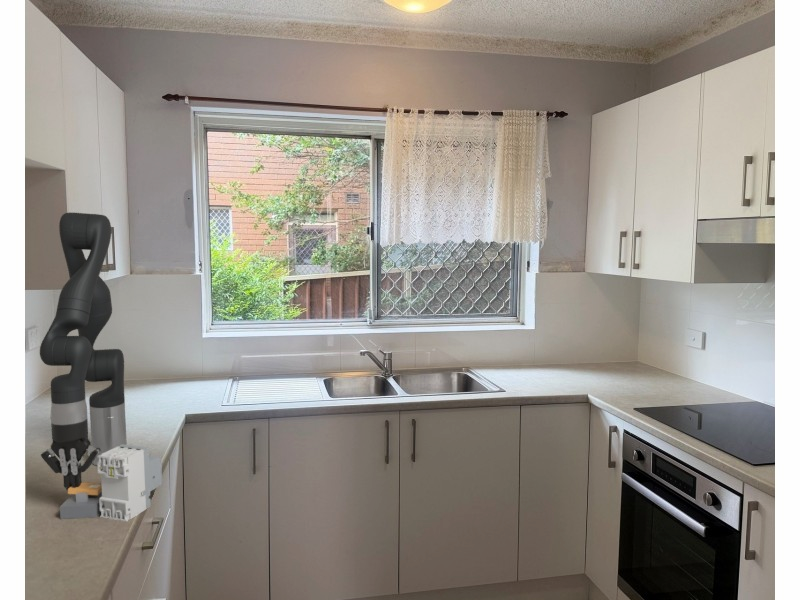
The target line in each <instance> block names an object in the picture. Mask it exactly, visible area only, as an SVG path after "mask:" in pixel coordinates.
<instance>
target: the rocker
mask: <svg viewBox="0 0 800 600" xmlns="http://www.w3.org/2000/svg"><path fill="white" fill-rule="evenodd" d="M101 491H102V484H101V482H82V483H81V485H80V486H79V487H76V488H72V486H71V487H70V488H69V489H68V490H67V495H72V494H77V493H87V492H88V495H99V494H100V492H101Z"/></svg>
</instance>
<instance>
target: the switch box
mask: <svg viewBox="0 0 800 600" xmlns="http://www.w3.org/2000/svg"><path fill="white" fill-rule="evenodd" d="M100 497H102V491H101V492H100V494H99V495H88V492H87V493H77V494H70V496H69V497H68V498H67V499H65V501H64V502H63V503H62V504H61V505H60V506H59V517H60V520H66V519H67V520H68V519H69V520H70V519H87V518H97V517H98V516H100V515H101V511H100V505H99V498H100ZM103 507H104V505H102V508H103Z"/></svg>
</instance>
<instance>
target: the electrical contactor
mask: <svg viewBox="0 0 800 600" xmlns="http://www.w3.org/2000/svg"><path fill="white" fill-rule="evenodd" d="M149 450H150V449H149V447H147V446H139V445H132V444H127V445H125V444H122V445H120V446H117V447H115V448H113V449H111V450H109V451H107V452H105V453H102V454H101V455H98V457H99V462H98V463H97V465H96V466H97V474H100V481H101V482H100V483H101V484H102V497H100V498H99V505H100V511H101V513H100V515H99V518H101V517H103V518H102V519H107V518H109V519H108V520H113V519H114V520H115V521H119V520H121V521H120V522H125V521H126V523H127V522H128V521H129V520H131V519H133V518H135V517H136V516H138V515H139V514H141V513H143V512H144V511H145V510H147V509H148V508H149V509H150V507H151V506H152V505H151V504H152V503H151V501H152V499H151V498H150V497H151V492H152V491H154V490H155V489H156V488H159V487H161V486H162V485H163V472H162V471H163V470H162V469H163V468H162V467H163V463H162V455H157V454H152V453H150V452H149ZM102 505H104V507H103V508H102ZM108 516H109V517H108ZM114 520H113V521H114Z"/></svg>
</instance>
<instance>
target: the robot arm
mask: <svg viewBox="0 0 800 600" xmlns="http://www.w3.org/2000/svg"><path fill="white" fill-rule="evenodd" d="M58 228H59V230H58V231H59V238H60V243H61V248H62V250H63V255H64V259H65V261H66V267H67V271H68V277H69V279H68V280H67V281H66V283H65V284H64V285H63V287H62V288H61V290H60V293H59V296H58V301H57V306H56V312H55V316H54V318H53V321H52V322H51V325H50V326H49V328H48V330H47V331H46V333H45V336H43V339H42V341H41V343H40V347H39V357H40V359H41V361H42V362H43V363H44V364H45V365H46V366H49V367H50V366H51V367H53V366H54V367H57V366H58V367H60V366H62V367H63V366H64V367H65V366H66V367H69V366H70V371H69V373H65V374H61V375H57V376H54V377H53V378H52V379H51V381H50V399H51V400H50V401H51V406H50V421H51V422H50V423H51V425H50V427H51V440H52V443H51V444H50V448H48V449H46V450H45V451H43V452H41V454H40V457H41V459H42V460H43V461H44V462H45V463H46V464H47V465H48V467H49V468H50V469H51V470H52V471H53V473H55V474H58V473H59V474H61V475H62V477H63V488H66V491H68V489H69V488H70V487H71V486H72V488H76V487H79V486H80V485H81V483H82V473H84V472H86V471H87V470H88V469H89V468H90V466H91V465H94V466H97V463H98V462H99V457H98V455H101V454H102V453H105V452H107V451H109V450H111V449H113V448H115V447H117V446H120V445H122V444H125V445H128V443H127V425H126V424H127V423H126V422H127V421H126V401H125V400H126V398H125V357H124V353H123V351H122V350H121V349H119V348H109V349H108V348H107V349H106V348H105V349H94V346H95V345H94V344H95V343H96V341H97V338H98V337H99V336H100V335H99V334H101V332H102V331H103V329H104V328H105V326H106V325H107V324H108V322H109V320H110V319H111V317H112V314H113V305H112V295H111V291H110V289H109V286H108V285H107V283H106V282H105V281H104V280H103V278H102V277H101V276H100V274H101V271H102V268H103V265H104V262H105V259H106V258H107V257H106V255H107V254H108V250H109V247H110V243H111V239H112V238H111V237H112V225H111V221H110V219H109V218H108V217H107V216H106V215H104V214H98V213H97V214H96V213H83V212H65V213H63V214H62V215H61V217H60V219H59V225H58ZM83 250H84V251H86V250H87V251H88V250H89V253H88V256H87V258H86V256H85V254H84V251H83ZM76 330H77V333H78V335H69V334H70V332H72V331H76ZM86 382H89V383H96V382H97V383H98V382H99V383H100V382H111V384H110V385H109V386H107V387H106V388H103V389H101V390H99V391H96V392H94V393H92V394H91V395H90V396H89V398H88V399H89V400H88V401H89V405H88V406H89V419H90V420H89V421H90V438H91V439H89V423H88V422H89V421H88V406H87V401H86V384H85V383H86ZM90 440H91V441H90ZM86 453H87V454H86ZM85 454H86V455H87V456H88V457H87V458H86V460H85V461H84V463H83V460H84V459H83V456H85ZM82 463H83V464H82Z"/></svg>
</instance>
